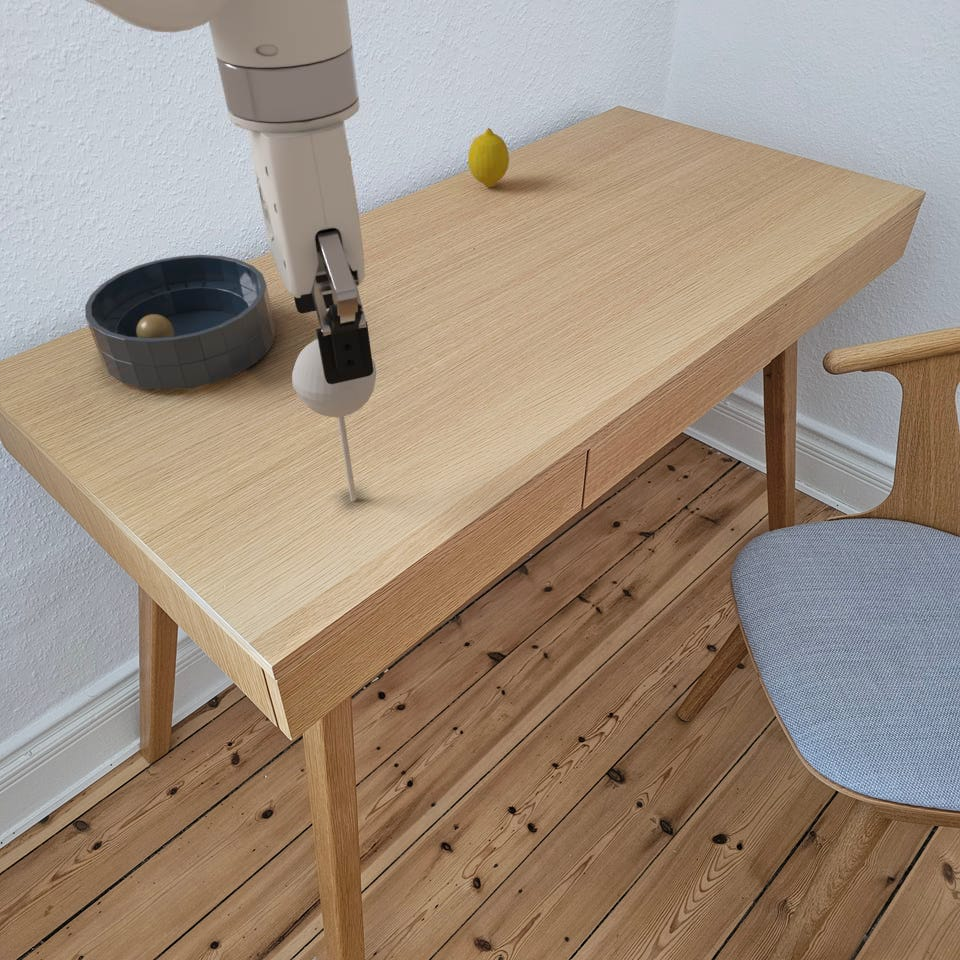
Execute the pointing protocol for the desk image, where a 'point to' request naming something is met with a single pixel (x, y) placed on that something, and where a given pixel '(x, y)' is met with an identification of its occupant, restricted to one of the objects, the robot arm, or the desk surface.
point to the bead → (154, 327)
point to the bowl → (182, 321)
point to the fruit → (488, 158)
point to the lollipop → (331, 395)
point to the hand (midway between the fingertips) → (333, 341)
